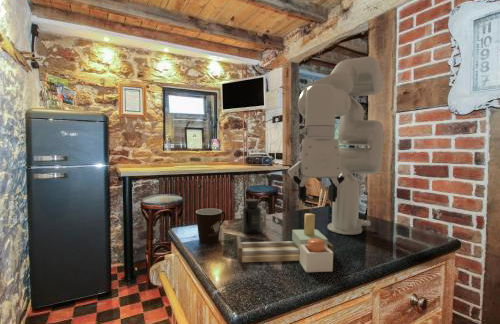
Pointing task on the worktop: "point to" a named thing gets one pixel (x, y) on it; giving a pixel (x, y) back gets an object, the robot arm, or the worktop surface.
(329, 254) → the white open box
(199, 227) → the coffee mug
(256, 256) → the track
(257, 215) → the supplement bottle
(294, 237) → the block
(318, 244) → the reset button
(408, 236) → the worktop surface
